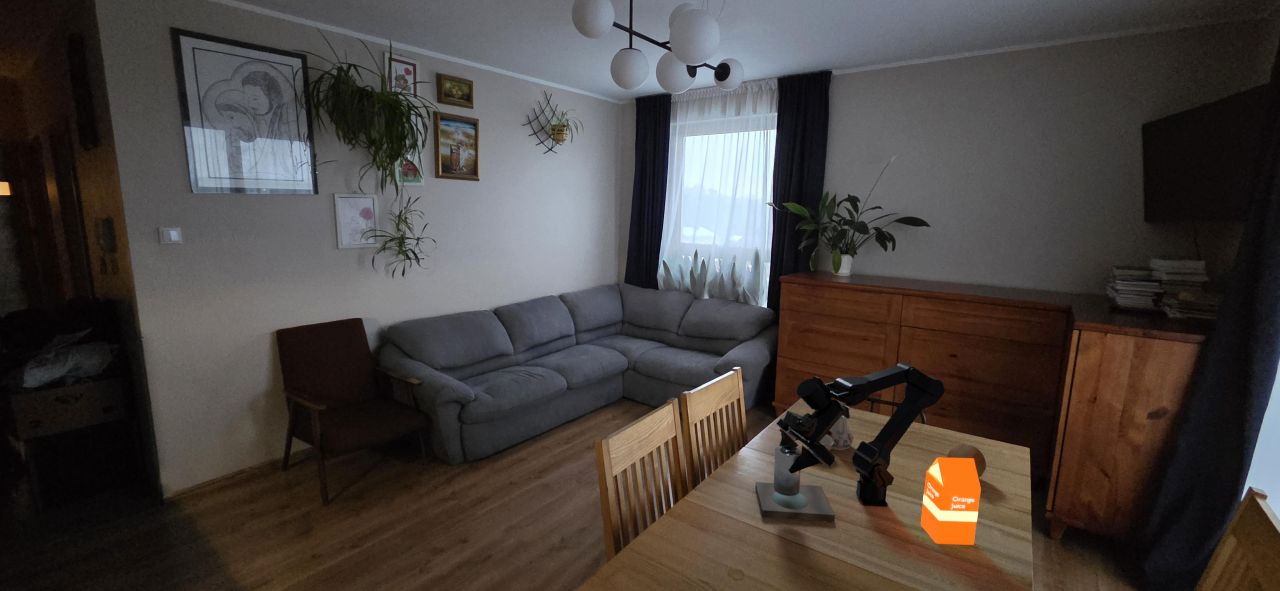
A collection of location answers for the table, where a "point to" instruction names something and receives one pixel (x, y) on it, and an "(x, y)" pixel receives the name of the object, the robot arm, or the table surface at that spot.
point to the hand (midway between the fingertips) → (782, 466)
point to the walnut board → (794, 503)
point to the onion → (969, 456)
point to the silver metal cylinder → (786, 471)
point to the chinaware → (838, 435)
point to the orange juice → (951, 501)
